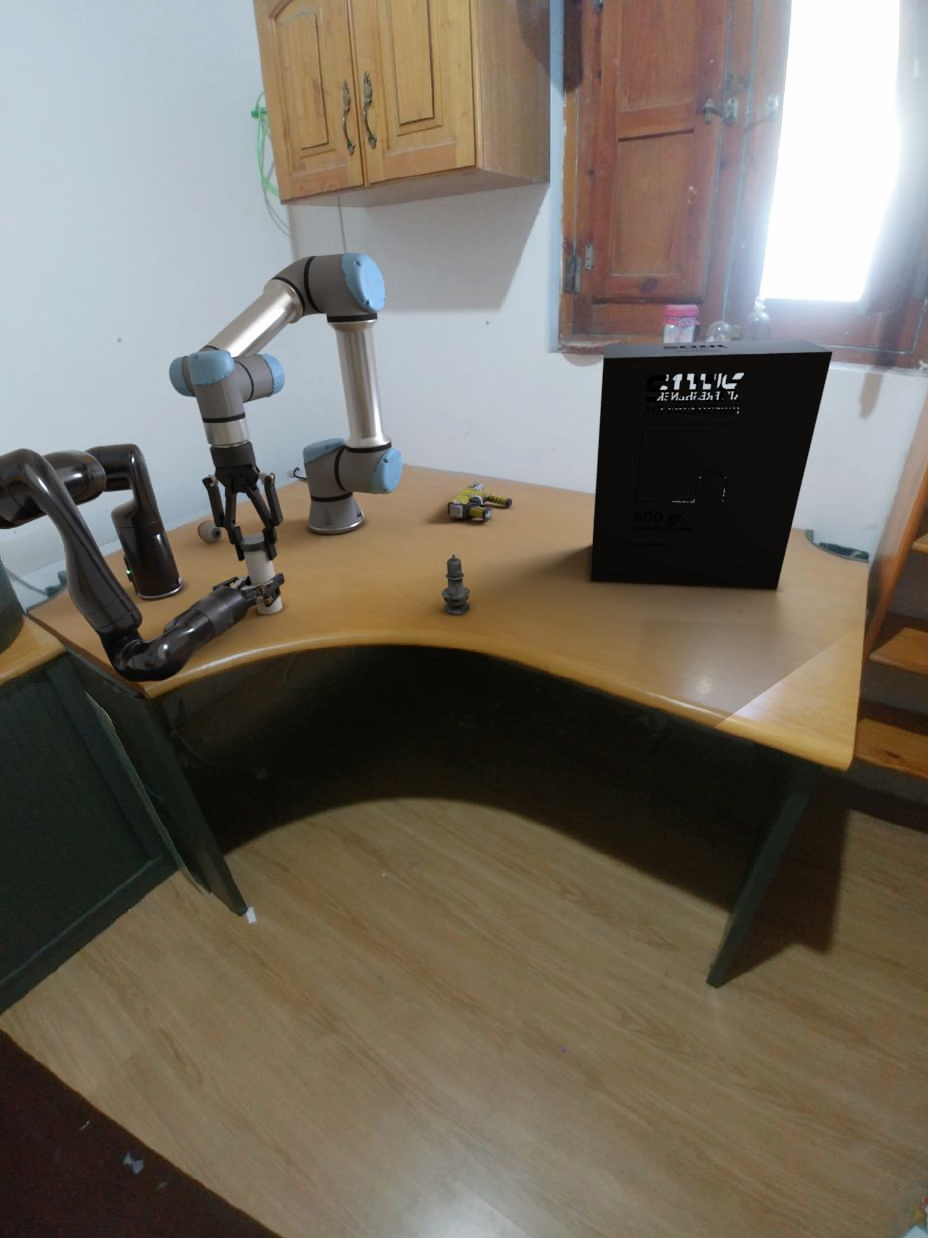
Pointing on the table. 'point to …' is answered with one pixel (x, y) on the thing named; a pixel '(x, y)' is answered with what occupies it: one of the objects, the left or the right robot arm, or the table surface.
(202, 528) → the eyeball
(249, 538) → the lid
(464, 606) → the dark grey tiered figure
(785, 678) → the table surface
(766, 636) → the table surface
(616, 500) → the cardboard box
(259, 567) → the bottle
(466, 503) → the toy gun
